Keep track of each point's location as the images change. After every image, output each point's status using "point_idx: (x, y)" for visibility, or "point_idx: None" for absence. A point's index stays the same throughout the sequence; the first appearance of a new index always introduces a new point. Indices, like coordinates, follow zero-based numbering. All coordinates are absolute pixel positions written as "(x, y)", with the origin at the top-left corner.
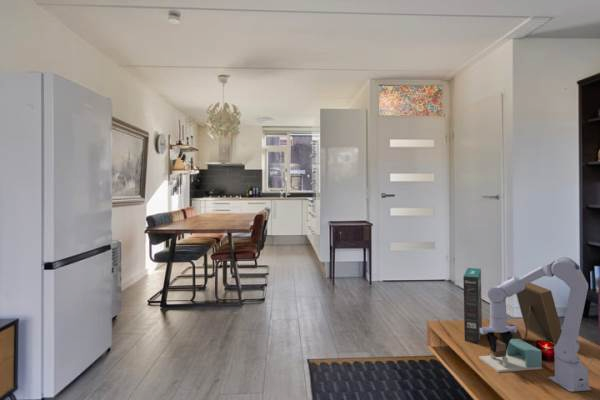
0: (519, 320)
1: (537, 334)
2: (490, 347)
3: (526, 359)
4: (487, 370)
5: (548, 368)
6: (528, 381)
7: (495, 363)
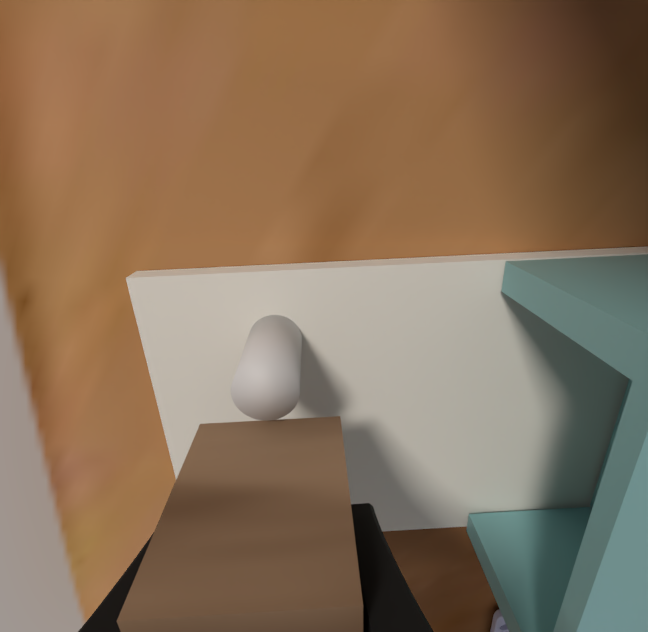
0: None
1: None
2: (141, 558)
3: (498, 592)
4: (118, 496)
5: None
6: None
7: None
